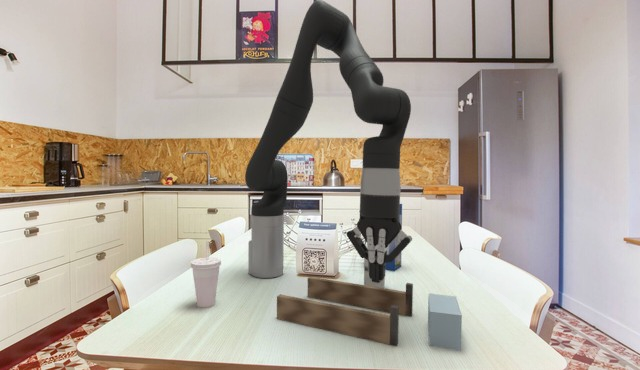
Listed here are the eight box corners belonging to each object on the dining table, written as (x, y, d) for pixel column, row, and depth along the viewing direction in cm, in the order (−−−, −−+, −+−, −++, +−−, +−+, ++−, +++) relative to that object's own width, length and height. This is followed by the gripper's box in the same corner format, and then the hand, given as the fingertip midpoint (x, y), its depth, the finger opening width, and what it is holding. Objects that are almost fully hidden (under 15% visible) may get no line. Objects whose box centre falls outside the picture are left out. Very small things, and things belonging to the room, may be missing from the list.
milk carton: (401, 266, 105) (402, 203, 104) (394, 271, 100) (395, 205, 99) (372, 262, 110) (372, 202, 110) (364, 266, 105) (365, 203, 104)
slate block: (429, 346, 56) (429, 311, 56) (428, 323, 65) (428, 293, 65) (461, 351, 55) (461, 315, 55) (455, 327, 63) (456, 296, 63)
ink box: (365, 285, 87) (366, 229, 87) (384, 286, 86) (385, 229, 86) (363, 296, 79) (363, 234, 78) (384, 298, 78) (385, 235, 77)
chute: (276, 318, 66) (276, 286, 66) (309, 295, 79) (310, 268, 79) (396, 346, 56) (397, 308, 56) (412, 314, 69) (412, 283, 69)
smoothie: (227, 300, 75) (227, 239, 75) (208, 311, 69) (208, 245, 69) (203, 297, 77) (203, 237, 77) (184, 307, 71) (183, 243, 71)
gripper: (340, 191, 63) (337, 281, 64) (411, 195, 57) (407, 293, 58) (354, 189, 70) (351, 271, 71) (418, 193, 64) (415, 281, 65)
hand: (377, 281), depth 64 cm, fingers closed
